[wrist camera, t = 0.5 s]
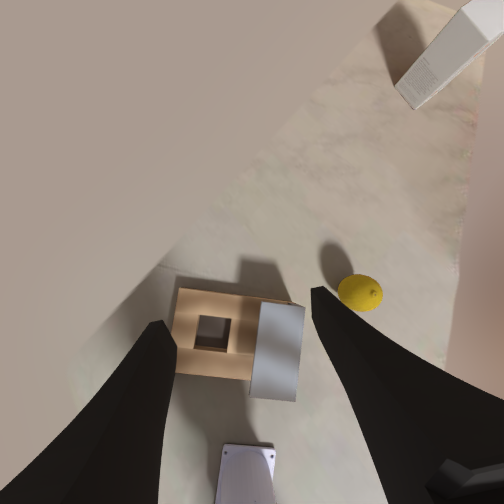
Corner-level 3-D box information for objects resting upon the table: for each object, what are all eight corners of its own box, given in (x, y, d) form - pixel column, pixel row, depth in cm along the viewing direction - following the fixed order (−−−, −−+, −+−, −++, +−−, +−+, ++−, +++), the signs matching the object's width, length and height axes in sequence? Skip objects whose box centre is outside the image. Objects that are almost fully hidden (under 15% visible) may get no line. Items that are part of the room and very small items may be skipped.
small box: (420, 65, 45) (498, -20, 32) (441, 90, 44) (527, 14, 32) (392, 86, 43) (460, 6, 31) (413, 111, 43) (490, 41, 30)
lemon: (323, 290, 38) (347, 294, 30) (344, 267, 39) (374, 265, 31) (346, 314, 38) (376, 324, 30) (367, 291, 39) (402, 294, 31)
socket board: (283, 378, 36) (295, 401, 29) (168, 365, 34) (152, 387, 28) (291, 301, 37) (305, 307, 30) (181, 287, 36) (170, 289, 29)
